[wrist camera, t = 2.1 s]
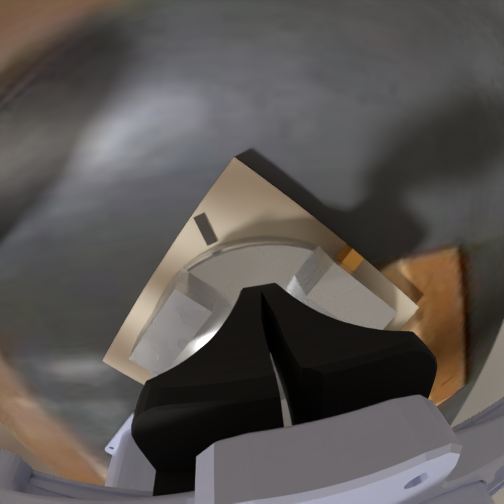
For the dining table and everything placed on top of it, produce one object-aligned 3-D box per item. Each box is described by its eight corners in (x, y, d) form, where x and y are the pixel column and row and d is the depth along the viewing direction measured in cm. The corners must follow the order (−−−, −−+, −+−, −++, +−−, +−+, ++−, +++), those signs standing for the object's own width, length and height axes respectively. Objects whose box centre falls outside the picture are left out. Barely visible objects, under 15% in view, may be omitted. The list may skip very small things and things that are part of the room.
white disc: (278, 434, 23) (285, 474, 19) (117, 361, 19) (99, 404, 15) (413, 302, 20) (447, 334, 15) (249, 167, 16) (257, 173, 12)
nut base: (277, 433, 25) (279, 441, 24) (106, 353, 20) (102, 361, 19) (412, 301, 21) (419, 307, 20) (233, 156, 17) (234, 157, 16)
